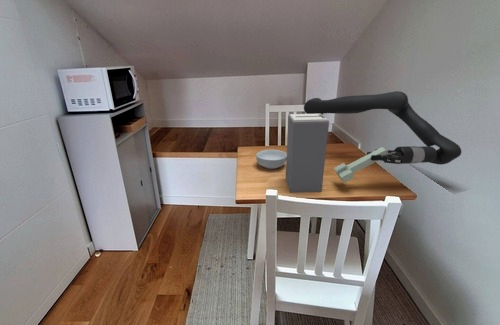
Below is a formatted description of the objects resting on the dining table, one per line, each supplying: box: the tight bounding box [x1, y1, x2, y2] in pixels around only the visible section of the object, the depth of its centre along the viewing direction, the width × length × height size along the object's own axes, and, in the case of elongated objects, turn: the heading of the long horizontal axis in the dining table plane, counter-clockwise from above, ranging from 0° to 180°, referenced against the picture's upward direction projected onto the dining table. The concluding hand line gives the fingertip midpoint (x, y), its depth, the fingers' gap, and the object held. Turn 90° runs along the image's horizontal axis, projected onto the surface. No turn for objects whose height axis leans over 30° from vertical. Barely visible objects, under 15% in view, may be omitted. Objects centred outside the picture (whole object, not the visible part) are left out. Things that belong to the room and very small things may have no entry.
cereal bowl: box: [255, 149, 287, 170], centre depth 133 cm, size 17×17×7 cm
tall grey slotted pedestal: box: [285, 113, 330, 194], centre depth 107 cm, size 14×14×32 cm
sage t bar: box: [333, 146, 388, 183], centre depth 106 cm, size 22×10×3 cm
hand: (369, 156), depth 105 cm, fingers closed on sage t bar, 3 cm apart
